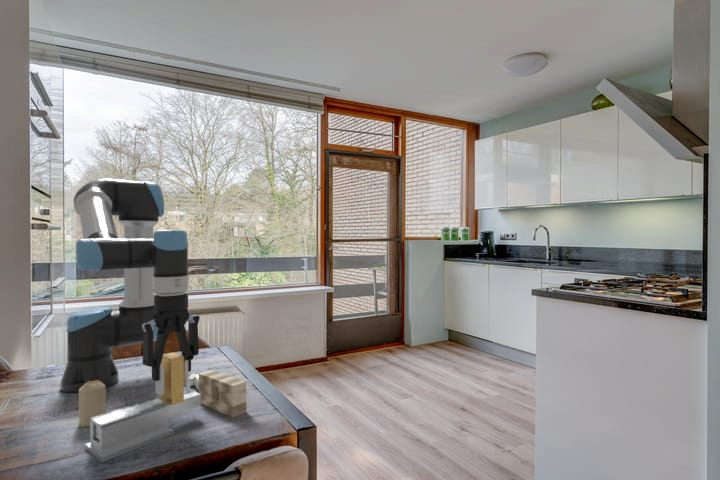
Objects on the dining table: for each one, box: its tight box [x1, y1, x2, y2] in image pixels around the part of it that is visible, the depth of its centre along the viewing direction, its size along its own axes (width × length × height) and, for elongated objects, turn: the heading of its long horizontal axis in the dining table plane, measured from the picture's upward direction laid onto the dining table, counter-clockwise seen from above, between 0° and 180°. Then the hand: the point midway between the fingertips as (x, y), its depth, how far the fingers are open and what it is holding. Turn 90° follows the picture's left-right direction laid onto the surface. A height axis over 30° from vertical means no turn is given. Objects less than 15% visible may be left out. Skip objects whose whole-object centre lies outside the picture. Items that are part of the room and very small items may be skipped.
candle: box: [78, 380, 107, 428], centre depth 101 cm, size 6×6×10 cm
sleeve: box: [84, 397, 175, 463], centre depth 91 cm, size 9×15×7 cm, turn 142°
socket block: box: [197, 369, 247, 418], centre depth 109 cm, size 16×4×8 cm, turn 52°
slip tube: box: [96, 352, 202, 439], centre depth 95 cm, size 5×22×14 cm, turn 142°
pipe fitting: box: [188, 373, 198, 390], centre depth 124 cm, size 8×4×7 cm
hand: (172, 389), depth 99 cm, fingers open, 5 cm apart
